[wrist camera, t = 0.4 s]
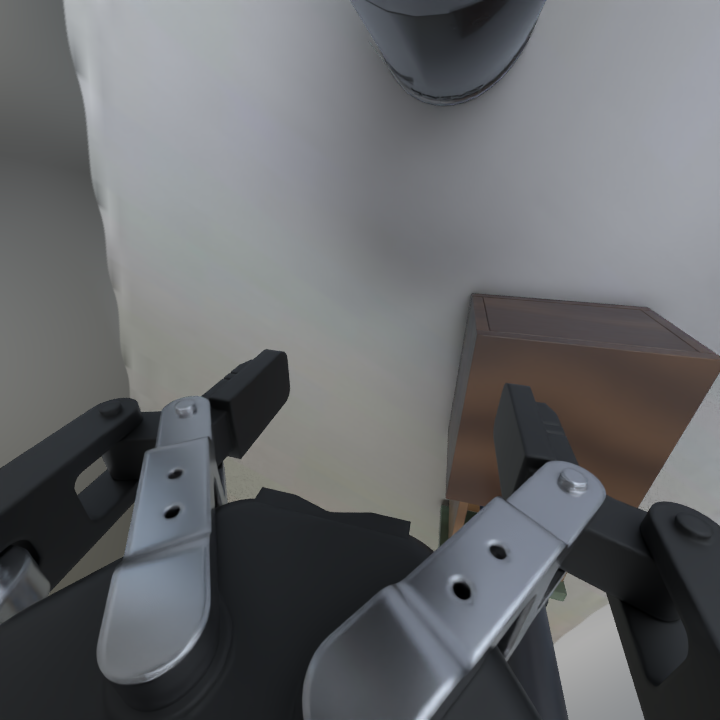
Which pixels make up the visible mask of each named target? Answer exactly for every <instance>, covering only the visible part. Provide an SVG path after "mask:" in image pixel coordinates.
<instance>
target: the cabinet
mask: <svg viewBox="0 0 720 720" xmlns="http://www.w3.org/2000/svg"><path fill="white" fill-rule="evenodd" d="M719 373H720V356H719V355H717V354H716V353H714V352H713V351H711V350H710V349H708V348H707V347H705V346H704V345H702V344H701V343H700V342H698V341H697V340H695V339H694V338H692V337H691V336H689V335H688V334H686V333H685V332H683V331H682V330H680V329H679V328H677V327H676V326H674V325H673V324H672V323H670V322H669V321H667V320H666V319H664V318H663V317H661V316H660V315H658V314H657V313H655V312H654V311H652V310H651V309H649V308H647V307H635V306H622V305H610V304H597V303H585V302H573V301H560V300H548V299H536V298H523V297H511V296H499V295H486V294H474V293H473V294H472V296H471V302H470V308H469V313H468V319H467V325H466V331H465V336H464V342H463V348H462V354H461V360H460V365H459V371H458V377H457V383H456V388H455V394H454V400H453V406H452V411H451V417H450V423H449V429H448V447H447V473H446V499H451V500H455V501H460V502H465V503H470V504H474V505H479V506H484V507H485V506H486V505H487V504H488V503H489V502H490V501H491V500H492V499H494V498H495V497H497V496H501V497H502V494H501V487H500V480H499V473H498V466H497V459H496V452H495V445H494V438H493V429H494V422H495V417H496V414H497V410H498V406H499V402H500V398H501V394H502V390H503V387H504V385H505V383H511V384H518V385H525V386H530V387H531V390H532V393H533V395H534V398H535V401H536V402H541V403H546V404H547V405H548V406H549V407H550V408H551V409H552V410H553V411H554V412H555V413H556V414H557V416H558V418H559V420H560V423H561V427H563V430H564V432H565V436H567V439H568V441H569V443H570V446H571V448H572V450H573V453H574V455H575V457H576V459H577V462H578V464H579V466H580V467H582V468H584V469H586V470H587V471H589V472H590V473H592V474H593V475H594V476H595V477H596V478H598V480H599V481H600V482H601V483H602V485H603V486H604V488H605V491H606V495H608V496H610V497H612V498H614V499H616V500H618V501H621V502H623V503H626V504H628V505H631V506H633V507H636V508H638V507H639V505H640V503H641V502H642V500H643V498H644V497H645V495H646V493H647V492H648V490H649V488H650V487H651V485H652V483H653V482H654V480H655V478H656V477H657V475H658V474H659V472H660V470H661V469H662V467H663V465H664V464H665V462H666V460H667V459H668V457H669V455H670V454H671V452H672V450H673V449H674V447H675V445H676V444H677V442H678V440H679V439H680V437H681V436H682V434H683V432H684V431H685V429H686V427H687V426H688V424H689V422H690V421H691V419H692V417H693V416H694V414H695V412H696V411H697V409H698V407H699V406H700V404H701V402H702V401H703V399H704V397H705V396H706V394H707V393H708V391H709V389H710V388H711V386H712V384H713V383H714V381H715V379H716V378H717V376H718V374H719Z"/></svg>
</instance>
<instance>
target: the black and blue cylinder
mask: <svg viewBox="0 0 720 720" xmlns="http://www.w3.org/2000/svg"><path fill="white" fill-rule="evenodd" d="M483 507H484V506H480V510H481V509H482V508H483ZM551 595H552V594H551ZM547 604H548V600H547V601H546V603H545V604H544V606H543V607H542V608H541V610H540V611H539V613H538V614H537V616H536V617H535V618H534V620H533V621H532V623H531V624H530V626H529V628H528V629H527V631H526V633H525V634H524V636H523V638H522V639H521V641H520V643H519V644H518V646H517V647H516V649H515V650H514V652H513V653H512V655H511V656H510V658H509V659H508V661H507V663H508V664H509V666H510V668H511V669H512V671H513V673H514V674H515V676H516V677H517V679H518V681H519V682H520V684H521V686H522V687H523V689H524V690H525V692H526V694H527V695H528V697H529V699H530V700H531V702H532V703H533V705H534V707H535V708H536V710H537V712H538V713H539V715H540V716H541V718H542V720H568V715H567V710H566V705H565V700H564V696H563V691H562V686H561V681H560V676H559V671H558V666H557V661H556V657H555V651H554V646H553V642H552V637H551V632H550V627H549V622H548V617H547V612H546V606H547Z"/></svg>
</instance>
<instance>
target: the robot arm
mask: <svg viewBox="0 0 720 720" xmlns="http://www.w3.org/2000/svg"><path fill="white" fill-rule="evenodd" d="M350 2H351V3H352V5H353V7H354V8H355V10H356V12H357V13H358V15H359V17H360V18H361V20H362V22H363V23H364V25H365V27H366V28H367V30H368V31H369V33H370V35H371V36H372V38H373V40H374V41H375V43H376V45H377V46H378V48H379V50H380V51H381V53H382V55H383V57H384V59H385V62H386V63H385V62H384V61H383V62H384V63H385V64H387V65H386V66H387V67H388V68H389V70H390V71H391V73H392V75H393V76H394V78H395V79H396V81H397V82H398V83H399V84H400V86H401V87H402V88H403V89H404V90H405V91H406V92H407V94H408V93H409V94H410V95H411V96H413V97H415V98H416V99H418V100H420V101H422V102H425V103H428V104H432V105H438V106H448V105H456V104H460V103H463V102H466V101H469V100H471V99H474V98H476V97H477V96H479V95H481V94H483V93H484V92H486V91H487V90H488V89H490V88H491V87H492V86H493V85H495V84H496V83H497V82H498V81H499V80H500V79H501V78H502V77H503V76H504V75H505V74H506V73H507V72H508V71H509V69H510V68H511V67H512V66H513V64H514V63H515V62H516V60H517V59H518V57H519V56H520V54H521V52H522V51H523V49H524V47H525V45H526V43H527V42H528V40H529V38H530V35H531V33H532V31H533V29H534V27H535V24H536V22H537V19H538V16H539V14H540V12H541V10H542V8H543V6H544V4H545V2H546V0H350ZM370 44H371V43H370ZM371 46H372V45H371ZM372 47H373V46H372ZM373 48H374V47H373ZM374 50H375V49H374ZM375 51H376V50H375ZM376 52H377V51H376ZM377 54H378V53H377ZM378 55H379V54H378ZM379 56H380V55H379ZM380 58H381V57H380ZM381 59H382V58H381ZM382 60H383V59H382ZM409 94H408V95H409ZM289 392H290V381H289V370H288V359H287V355H286V353H285V352H282V351H275V350H268V349H266V350H264V351H263V352H261V353H260V354H259V355H258V356H257V357H256V358H254V359H253V360H249V361H247V362H245V363H243V364H240V365H239V366H237V367H236V368H235V369H234V370H233V371H231V373H229V374H228V375H227V376H225V377H224V379H222V380H221V381H219V382H218V383H217V384H216V385H214V386H213V387H212V388H211V389H210V390H208V391H207V392H206V393H205V394H204V395H202V396H188V397H183V398H180V399H177V400H175V401H173V402H171V403H169V404H168V405H166V406H165V407H164V408H163V410H162V411H158V412H141V411H140V408H139V405H138V402H137V401H136V400H134V399H131V398H118V399H113V400H109V401H106V402H103V403H101V404H98V405H97V406H95V407H93V408H92V409H90V410H88V411H87V412H86V413H84V414H82V415H81V416H79V417H78V418H76V419H75V420H73V421H72V422H70V423H69V424H67V425H66V426H64V427H62V428H61V429H60V430H58V431H56V432H55V433H53V434H52V435H50V436H49V437H47V438H46V439H44V440H43V441H41V442H40V443H38V444H37V445H35V446H34V447H32V448H31V449H29V450H27V451H26V452H24V453H23V454H21V455H20V456H18V457H17V458H15V459H14V460H12V461H11V462H9V463H8V464H6V465H5V466H3V467H2V468H0V720H542V718H541V716H540V715H539V713H538V712H537V710H536V708H535V707H534V705H533V703H532V702H531V700H530V699H529V697H528V695H527V694H526V692H525V690H524V689H523V687H522V686H521V684H520V682H519V681H518V679H517V677H516V676H515V674H514V673H513V671H512V669H511V668H510V666H509V664H508V663H507V661H508V659H509V658H510V656H511V655H512V653H513V652H514V650H515V649H516V647H517V646H518V644H519V643H520V641H521V639H522V638H523V636H524V634H525V633H526V631H527V629H528V628H529V626H530V624H531V623H532V621H533V620H534V618H535V617H536V616H537V614H538V613H539V611H540V610H541V608H542V607H543V606H544V604H545V603H546V601H547V600H548V598H549V597H550V596H551V594H552V593H553V591H554V590H555V588H556V587H557V586H558V584H559V583H560V581H561V580H562V579H563V577H564V576H565V574H566V573H567V572H568V573H570V574H572V575H574V576H575V577H577V578H579V579H581V580H583V581H585V582H587V583H589V584H591V585H593V586H595V587H597V588H598V589H600V590H602V591H604V592H606V594H607V597H608V600H609V604H610V607H611V610H612V613H613V617H614V620H615V623H616V627H617V630H618V633H619V636H620V640H621V643H622V646H623V649H624V653H625V656H626V659H627V663H628V666H629V669H630V673H631V676H632V679H633V682H634V686H635V689H636V692H637V695H638V699H639V702H640V705H641V709H642V711H643V715H644V719H645V720H720V526H719V525H718V524H717V523H715V522H714V521H713V520H711V519H710V518H708V517H707V516H705V515H703V514H702V513H700V512H698V511H696V510H694V509H692V508H689V507H687V506H684V505H681V504H678V503H673V502H664V501H663V502H657V503H655V504H653V505H652V506H651V508H650V509H649V511H648V512H646V511H643V510H641V509H638V508H636V507H633V506H631V505H628V504H626V503H623V502H621V501H618V500H616V499H614V498H612V497H610V496H608V495H606V491H605V488H604V486H603V485H602V483H601V482H600V481H599V480H598V478H596V477H595V476H594V475H593V474H592V473H590V472H589V471H587V470H586V469H584V468H582V467H580V466H579V464H578V462H577V459H576V457H575V455H574V453H573V450H572V448H571V446H570V443H569V441H568V439H567V436H565V432H564V430H563V427H561V423H560V420H559V418H558V416H557V414H556V413H555V412H554V411H553V410H552V409H551V408H550V407H549V406H548V405H547V404H546V403H541V402H536V401H535V398H534V395H533V393H532V390H531V387H530V386H525V385H518V384H511V383H505V385H504V387H503V390H502V394H501V398H500V402H499V406H498V410H497V414H496V417H495V422H494V429H493V438H494V445H495V452H496V459H497V466H498V473H499V480H500V487H501V494H502V497H501V496H497V497H495V498H494V499H492V500H491V501H490V502H489V503H488V504H487V505H486V506H485V507H483V508H482V509H481V510H480V511H479V512H478V513H477V514H476V515H475V516H473V517H472V518H471V519H470V520H469V521H468V522H467V523H466V524H465V525H463V526H462V527H461V528H460V529H459V530H458V531H457V532H456V533H455V534H453V535H452V536H451V537H450V538H449V539H448V540H447V541H446V542H444V543H443V544H442V545H441V546H440V547H439V548H438V549H437V550H436V551H433V550H431V549H430V548H429V547H428V546H427V545H425V544H424V543H422V542H421V541H419V540H418V539H416V538H414V537H412V536H410V535H409V530H410V523H411V522H410V521H405V520H401V519H397V518H392V517H388V516H384V515H380V514H375V513H339V512H328V511H326V510H324V509H322V508H320V507H318V506H316V505H314V504H312V503H310V502H309V501H307V500H305V499H303V498H301V497H299V496H297V495H294V494H290V493H285V492H281V491H277V490H273V489H268V488H264V487H262V489H261V490H260V492H259V493H258V495H257V496H256V498H255V499H244V500H239V501H234V502H231V503H228V500H227V489H226V477H225V467H224V463H223V460H224V459H225V458H226V457H227V456H230V457H234V458H239V459H241V458H242V457H243V456H244V454H245V453H246V452H247V451H248V449H249V448H250V447H251V446H252V444H253V443H254V442H255V440H256V439H257V438H258V437H259V435H260V434H261V433H262V432H263V430H264V429H265V428H266V427H267V425H268V424H269V423H270V421H271V420H272V419H273V418H274V416H275V415H276V414H277V413H278V411H279V410H280V409H281V408H282V406H283V405H284V404H285V402H286V401H287V399H288V396H289ZM101 456H102V458H103V460H104V462H105V464H106V467H107V470H106V471H105V472H104V473H102V474H101V475H100V476H99V477H98V478H97V479H96V480H95V481H93V482H92V483H91V484H90V485H89V486H88V487H86V488H85V489H84V490H83V491H82V492H81V493H80V494H78V495H77V494H76V492H75V489H74V486H75V482H76V479H77V477H78V476H79V474H81V472H82V471H84V470H85V469H86V468H87V467H89V466H90V465H91V464H92V463H93V462H95V461H96V460H97V459H98V458H99V457H101ZM134 502H135V504H134V510H133V515H132V519H131V524H130V529H129V535H128V539H127V544H126V549H125V554H124V557H122V558H120V559H118V560H116V561H114V562H112V563H110V564H108V565H107V566H105V567H103V568H101V569H99V570H97V571H95V572H93V573H91V574H90V575H88V576H86V577H84V578H82V579H80V580H78V581H76V582H75V583H73V584H71V585H69V586H67V587H65V588H63V589H61V590H59V591H58V592H56V593H54V594H52V595H50V596H48V595H49V592H50V591H51V590H52V589H53V588H54V587H55V586H56V585H57V584H58V583H59V582H60V581H61V580H62V579H63V578H64V577H65V575H66V574H67V573H68V572H69V571H70V570H71V569H72V568H73V567H74V566H75V565H76V564H77V563H78V562H79V561H80V559H81V558H82V557H83V556H84V555H85V554H86V553H87V552H88V551H89V550H90V549H91V548H92V547H93V546H94V544H96V542H97V541H98V540H99V539H100V538H101V537H102V536H103V535H104V534H105V533H106V532H107V531H108V529H110V527H111V526H112V525H113V524H114V523H115V522H116V521H117V520H118V519H119V518H120V517H121V516H122V515H123V514H124V513H125V512H126V510H127V509H128V508H129V507H130V506H131V505H132V504H133V503H134Z"/></svg>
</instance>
